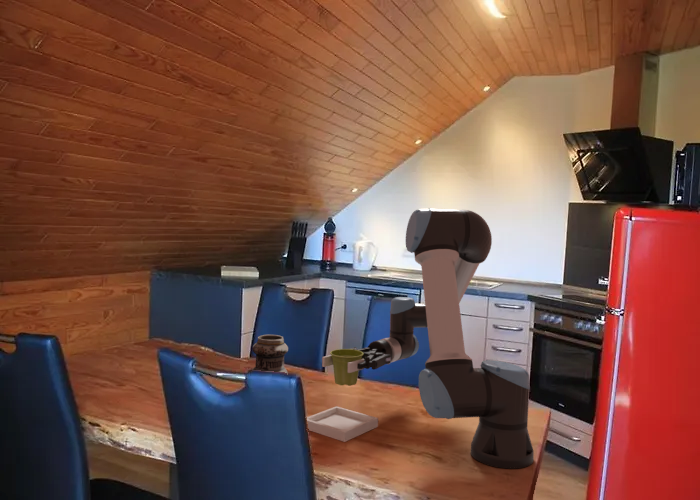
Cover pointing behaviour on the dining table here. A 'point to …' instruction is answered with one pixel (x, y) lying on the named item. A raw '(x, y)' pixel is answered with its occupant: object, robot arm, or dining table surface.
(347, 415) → the pot tray
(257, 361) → the apothecary jar
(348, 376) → the plant pot
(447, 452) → the dining table surface
